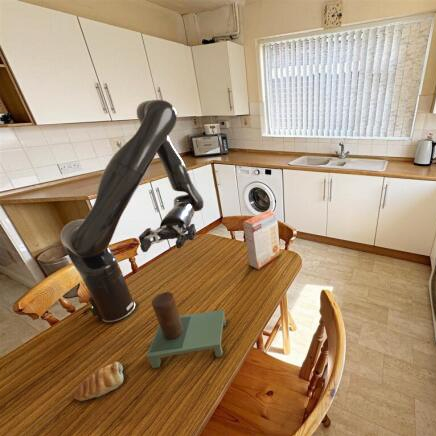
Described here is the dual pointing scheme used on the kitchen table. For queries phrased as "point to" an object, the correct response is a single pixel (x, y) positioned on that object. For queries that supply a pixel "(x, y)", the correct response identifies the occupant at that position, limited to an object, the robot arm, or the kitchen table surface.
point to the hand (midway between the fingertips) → (160, 247)
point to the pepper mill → (168, 315)
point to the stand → (190, 337)
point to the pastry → (100, 382)
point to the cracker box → (262, 238)
